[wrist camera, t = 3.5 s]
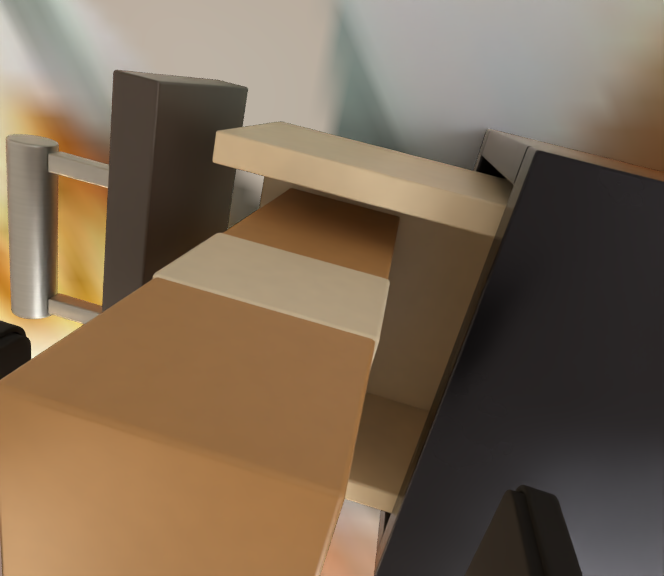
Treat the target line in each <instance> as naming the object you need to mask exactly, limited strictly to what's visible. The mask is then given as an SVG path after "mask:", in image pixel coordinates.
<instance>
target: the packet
mask: <svg viewBox="0 0 664 576" xmlns="http://www.w3.org/2000/svg"><path fill="white" fill-rule="evenodd" d="M399 221H400V217H398V216H395V215H391V214H387V213H383V212H380V211H376V210H372V209H368V208H365V207H361V206H357V205H354V204H350V203H346V202H342V201H339V200H335V199H331V198H327V197H324V196H320V195H316V194H312V193H309V192H305V191H301V190H297V189H294V188H290V189H288V190H287V191H285V192H284V193H282V194H281V195H279V196H278V197H276V198H275V199H273V200H272V201H270V202H269V203H267V204H266V205H264V206H263V207H261V208H260V209H258V210H257V211H255V212H254V213H252V214H251V215H249V216H248V217H246V218H244V219H243V220H241V221H240V222H238V223H237V224H235V225H234V226H232V227H231V228H229V229H228V230H226V231H225V232H223V233H216V234H215V235H213V236H212V237H210V238H209V239H207V240H205V241H204V242H202V243H201V244H199V245H198V246H196V247H195V248H193V249H191V250H190V251H188V252H187V253H185V254H184V255H182V256H181V257H179V258H177V259H176V260H174V261H173V262H171V263H170V264H168V265H167V266H165V267H163V268H162V269H160V270H159V271H157V272H156V273H155V274H154V275H153V278H152V280H151V281H149V282H148V283H146V284H145V285H143V286H142V287H140V288H139V289H137V290H136V291H134V292H132V293H131V294H129V295H128V296H126V297H125V298H123V299H122V300H120V301H119V302H117V303H116V304H114V305H113V306H111V307H110V308H108V309H107V310H105V311H104V312H102V313H101V314H99V315H98V316H96V317H95V318H93V319H92V320H90V321H89V322H87V323H86V324H84V325H83V326H81V327H79V328H78V329H76V330H75V331H73V332H72V333H70V334H69V335H67V336H66V337H64V338H63V339H61V340H60V341H58V342H57V343H55V344H54V345H52V346H51V347H49V348H48V349H46V350H45V351H43V352H42V353H40V354H39V355H37V356H36V357H34V358H33V359H31V360H30V361H28V362H27V363H25V364H23V365H22V366H20V367H19V368H17V369H16V370H14V371H13V372H11V373H10V374H8V375H7V376H5V377H4V378H2V379H1V380H0V541H1V558H2V576H320V574H321V571H322V568H323V565H324V562H325V559H326V556H327V552H328V549H329V546H330V543H331V540H332V537H333V534H334V530H335V527H336V524H337V521H338V518H339V515H340V511H341V508H342V505H343V502H344V499H345V495H346V490H347V485H348V480H349V475H350V470H351V465H352V460H353V455H354V450H355V445H356V439H357V434H358V429H359V424H360V419H361V414H362V409H363V404H364V399H365V394H366V389H367V384H368V379H369V374H370V370H371V366H372V363H373V360H374V356H375V353H376V350H377V346H378V343H379V339H380V334H381V328H382V323H383V317H384V312H385V306H386V301H387V296H388V290H389V285H390V283H389V280H388V277H389V272H390V267H391V262H392V257H393V252H394V247H395V242H396V237H397V232H398V226H399Z"/></svg>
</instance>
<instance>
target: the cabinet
mask: <svg viewBox="0 0 664 576" xmlns="http://www.w3.org/2000/svg"><path fill="white" fill-rule="evenodd" d="M473 171H476V172H480V173H484V174H488V175H492V176H495V177H499V178H503V179H507V180H508V181H509V182H511V183H512V184H513V185H514V186H513V189H512V192H511V194H510V197H509V200H508V202H507V205H506V208H505V210H504V213H503V216H502V218H501V221H500V224H499V226H498V229H497V232H496V234H495V237H494V240H493V242H492V245H491V248H490V250H489V253H488V256H487V258H486V261H485V264H484V266H483V269H482V272H481V275H480V277H479V280H478V283H477V285H476V288H475V291H474V293H473V296H472V299H471V301H470V304H469V307H468V309H467V312H466V315H465V317H464V320H463V323H462V325H461V328H460V331H459V333H458V336H457V339H456V341H455V344H454V347H453V349H452V352H451V355H450V357H449V360H448V363H447V365H446V368H445V371H444V374H443V376H442V379H441V382H440V384H439V387H438V390H437V392H436V395H435V398H434V400H433V403H432V406H431V408H430V411H429V414H428V416H427V419H426V422H425V424H424V427H423V430H422V432H421V435H420V438H419V440H418V443H417V446H416V448H415V451H414V454H413V456H412V459H411V462H410V464H409V467H408V470H407V473H406V475H405V478H404V481H403V483H402V486H401V489H400V491H399V494H398V497H397V499H396V502H395V505H394V507H393V510H392V513H388V512H385V511H382V510H381V512H380V522H379V532H378V541H377V553H376V561H375V570H374V576H465V574H466V572H467V570H468V568H469V566H470V564H471V561H472V559H473V557H474V555H475V553H476V551H477V549H478V547H479V545H480V543H481V541H482V539H483V537H484V535H485V533H486V530H487V528H488V526H489V524H490V522H491V520H492V518H493V516H494V514H495V512H496V510H497V508H498V506H499V504H500V502H501V499H502V497H503V495H504V494H505V492H506V491H507V490H513V491H516V489H517V488H518V487H519V486H520V485H526V486H529V487H532V488H535V489H538V490H541V491H545V492H548V493H551V494H554V495H555V496H556V497H557V499H558V501H559V504H560V507H561V510H562V513H563V516H564V519H565V522H566V525H567V528H568V531H569V534H570V538H571V541H572V544H573V547H574V550H575V553H576V556H577V559H578V562H579V565H580V568H581V572H582V575H583V576H664V172H662V171H658V170H654V169H650V168H646V167H642V166H638V165H634V164H630V163H626V162H622V161H618V160H614V159H610V158H606V157H602V156H598V155H594V154H590V153H586V152H582V151H578V150H574V149H570V148H566V147H562V146H558V145H554V144H550V143H546V142H542V141H538V140H534V139H530V138H526V137H522V136H518V135H514V134H510V133H506V132H502V131H498V130H494V129H487V130H486V133H485V136H484V139H483V142H482V145H481V148H480V151H479V154H478V157H477V160H476V163H475V166H474V169H473Z"/></svg>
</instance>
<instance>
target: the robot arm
mask: <svg viewBox="0 0 664 576" xmlns="http://www.w3.org/2000/svg"><path fill="white" fill-rule="evenodd" d="M30 360H31V343H30V340H29V338H27V337H26V333H25V331H24V330H23V328H21V327H19V326H16V325H13V324H9V323H6V322H3V321H0V380H1V379H2V378H4V377H5V376H7V375H8V374H10V373H11V372H13V371H14V370H16V369H17V368H19V367H20V366H22V365H23V364H25V363H27V362H28V361H30ZM465 576H583V575H582V572H581V568H580V565H579V562H578V559H577V556H576V553H575V550H574V547H573V544H572V541H571V538H570V534H569V531H568V528H567V525H566V522H565V519H564V516H563V513H562V510H561V507H560V504H559V501H558V499H557V497H556V496H555V495H554V494H551V493H548V492H545V491H541V490H538V489H535V488H532V487H529V486H526V485H520V486H519V487H518V488H517V489H516V491H513V490H507V491H506V492H505V494H504V495H503V497H502V499H501V502H500V504H499V506H498V508H497V510H496V512H495V514H494V516H493V518H492V520H491V522H490V524H489V526H488V528H487V530H486V533H485V535H484V537H483V539H482V541H481V543H480V545H479V547H478V549H477V551H476V553H475V555H474V557H473V559H472V561H471V564H470V566H469V568H468V570H467V572H466V574H465Z"/></svg>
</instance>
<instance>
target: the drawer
mask: <svg viewBox="0 0 664 576" xmlns="http://www.w3.org/2000/svg"><path fill="white" fill-rule="evenodd" d="M247 92H248V89H247V87H244V86H240V85H235V84H232V83H228V82H224V81H220V80H213V79H203V78H192V77H183V76H173V75H163V74H153V73H143V72H133V71H122V70H115V71H114V73H113V93H112V114H111V135H110V156H109V165H108V164H104V163H101V162H97V161H93V160H90V159H86V158H82V157H79V156H75V155H71V154H68V153H64V152H59V145H58V143H57V142H56V141H54V140H51V139H48V138H44V137H40V136H33V135H22V134H16V135H9V136H7V137H6V163H7V193H8V223H9V252H10V282H11V310H12V312H13V314H15V315H16V316H18V317H21V318H26V319H40V318H45V317H49V316H51V315H55V316H59V317H62V318H65V319H69V320H72V321H75V322H79V323H82V324H86V323H87V322H89V321H90V320H92V319H93V318H95V317H96V316H98V315H99V314H101V313H102V312H104V311H105V310H107V309H108V308H110V307H111V306H113V305H114V304H116V303H117V302H119V301H120V300H122V299H123V298H125V297H126V296H128V295H129V294H131V293H132V292H134V291H136V290H137V289H139V288H140V287H142V286H143V285H145V284H146V283H148V282H149V281H151V280H152V278H153V275H154V274H155V273H156V272H157V271H159V270H160V269H162V268H163V267H165V266H167V265H168V264H170V263H171V262H173V261H174V260H176V259H177V258H179V257H181V256H182V255H184V254H185V253H187V252H188V251H190V250H191V249H193V248H195V247H196V246H198V245H199V244H201V243H202V242H204V241H205V240H207V239H209V238H210V237H212V236H213V235H215V234H216V233H223V232H225V231H226V230H227V227H228V220H229V213H230V207H231V200H232V193H233V186H234V180H235V173H236V169H239V170H243V171H247V172H250V173H254V174H258V175H262V176H264V182H263V188H262V194H261V200H260V205H259V209H260V208H261V207H263V206H264V205H266V204H267V203H269V202H270V201H272V200H273V199H275V198H276V197H278V196H279V195H281V194H282V193H284V192H285V191H287V190H288V189H290V188H294V189H297V190H301V191H305V192H309V193H312V194H316V195H320V196H324V197H327V198H331V199H335V200H339V201H342V202H346V203H350V204H354V205H357V206H361V207H365V208H368V209H372V210H376V211H380V212H383V213H387V214H391V215H395V216H398V217H400V221H399V226H398V232H397V237H396V242H395V247H394V252H393V257H392V262H391V267H390V272H389V277H388V280H389V283H390V285H389V290H388V296H387V301H386V306H385V312H384V317H383V323H382V328H381V334H380V339H379V343H378V346H377V350H376V353H375V356H374V360H373V363H372V366H371V370H370V374H369V379H368V384H367V389H366V394H365V399H364V404H363V409H362V414H361V419H360V424H359V429H358V434H357V439H356V445H355V450H354V455H353V460H352V465H351V470H350V475H349V480H348V485H347V490H346V495H345V499H347V500H350V501H354V502H357V503H360V504H363V505H366V506H369V507H373V508H376V509H379V510H382V511H385V512H388V513H392V510H393V507H394V505H395V502H396V499H397V497H398V494H399V491H400V489H401V486H402V483H403V481H404V478H405V475H406V473H407V470H408V467H409V464H410V462H411V459H412V456H413V454H414V451H415V448H416V446H417V443H418V440H419V438H420V435H421V432H422V430H423V427H424V424H425V422H426V419H427V416H428V414H429V411H430V408H431V406H432V403H433V400H434V398H435V395H436V392H437V390H438V387H439V384H440V382H441V379H442V376H443V374H444V371H445V368H446V365H447V363H448V360H449V357H450V355H451V352H452V349H453V347H454V344H455V341H456V339H457V336H458V333H459V331H460V328H461V325H462V323H463V320H464V317H465V315H466V312H467V309H468V307H469V304H470V301H471V299H472V296H473V293H474V291H475V288H476V285H477V283H478V280H479V277H480V275H481V272H482V269H483V266H484V264H485V261H486V258H487V256H488V253H489V250H490V248H491V245H492V242H493V240H494V237H495V234H496V232H497V229H498V226H499V224H500V221H501V218H502V216H503V213H504V210H505V208H506V205H507V202H508V200H509V197H510V194H511V192H512V189H513V186H514V185H513V184H512V183H511V182H509V181H508V180H507V179H503V178H499V177H495V176H492V175H488V174H484V173H480V172H476V171H472V170H468V169H464V168H460V167H457V166H453V165H449V164H445V163H441V162H437V161H433V160H429V159H425V158H422V157H418V156H414V155H410V154H406V153H402V152H398V151H394V150H390V149H387V148H383V147H379V146H375V145H371V144H367V143H363V142H359V141H355V140H352V139H348V138H344V137H340V136H336V135H332V134H328V133H324V132H320V131H316V130H313V129H309V128H305V127H301V126H297V125H293V124H289V123H285V122H274V123H266V124H259V125H253V126H246V127H242V126H243V119H244V112H245V104H246V98H247ZM58 175H62V176H65V177H69V178H73V179H76V180H80V181H83V182H87V183H91V184H94V185H98V186H102V187H105V188H108V198H107V219H106V240H105V261H104V283H103V304H102V306H100V305H97V304H94V303H90V302H87V301H84V300H80V299H77V298H73V297H70V296H67V295H63V294H58Z"/></svg>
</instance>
